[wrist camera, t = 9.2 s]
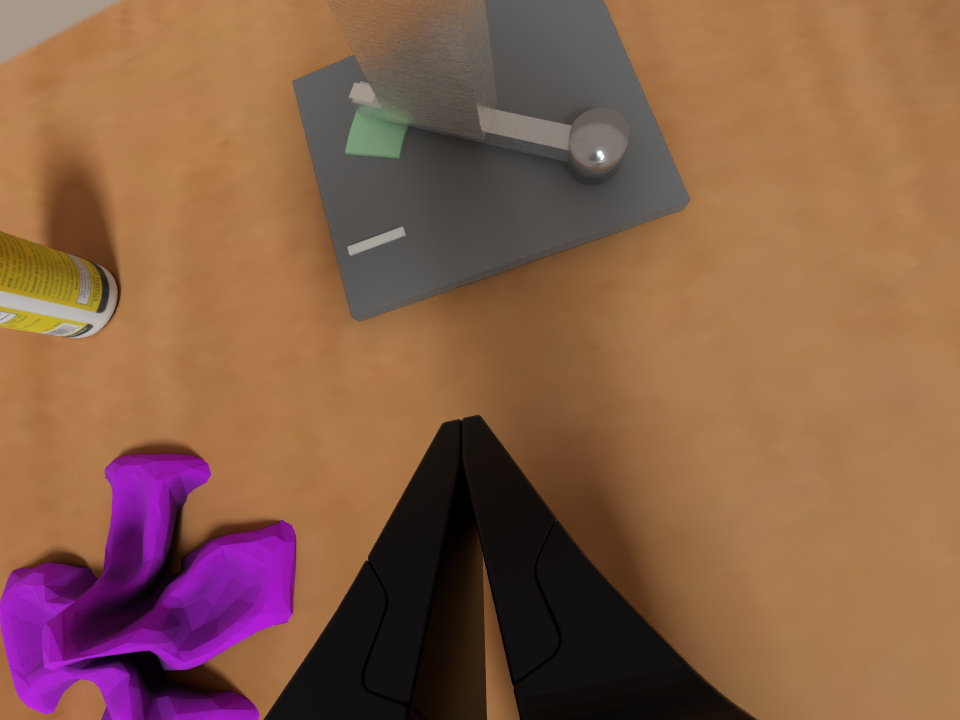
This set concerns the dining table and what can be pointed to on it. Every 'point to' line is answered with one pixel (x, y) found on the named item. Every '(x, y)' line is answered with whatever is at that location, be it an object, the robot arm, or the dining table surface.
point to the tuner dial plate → (483, 164)
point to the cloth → (147, 603)
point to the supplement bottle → (52, 290)
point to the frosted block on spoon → (461, 84)
